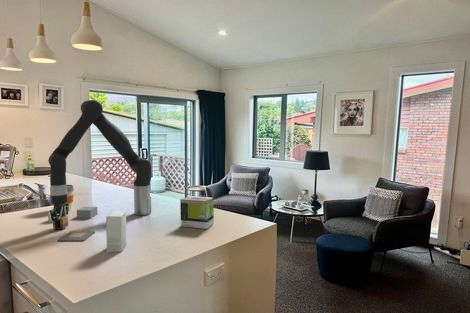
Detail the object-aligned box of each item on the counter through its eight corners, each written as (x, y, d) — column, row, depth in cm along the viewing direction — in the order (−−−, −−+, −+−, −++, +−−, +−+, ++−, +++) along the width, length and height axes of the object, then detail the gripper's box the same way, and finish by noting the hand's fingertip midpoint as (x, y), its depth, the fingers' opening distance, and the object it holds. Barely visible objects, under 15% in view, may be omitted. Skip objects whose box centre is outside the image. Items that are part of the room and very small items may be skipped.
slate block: (97, 215, 186) (97, 206, 186) (90, 219, 178) (90, 210, 178) (84, 214, 187) (84, 206, 186) (77, 218, 179) (76, 210, 178)
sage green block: (62, 219, 177) (62, 210, 176) (57, 222, 172) (57, 213, 171) (53, 219, 176) (52, 210, 176) (48, 222, 172) (47, 213, 171)
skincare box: (112, 245, 138) (111, 210, 137) (127, 244, 139) (126, 210, 137) (106, 252, 130) (104, 216, 129) (122, 252, 131) (121, 215, 129)
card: (95, 232, 155) (95, 230, 155) (84, 241, 143) (84, 239, 143) (70, 232, 155) (70, 230, 155) (57, 241, 143) (57, 239, 143)
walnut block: (68, 225, 163) (67, 216, 162) (63, 228, 158) (62, 219, 158) (58, 225, 163) (57, 216, 162) (53, 228, 158) (52, 219, 157)
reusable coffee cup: (46, 211, 192) (45, 187, 191) (64, 206, 204) (63, 184, 203) (61, 213, 188) (60, 189, 186) (79, 208, 199) (78, 185, 198)
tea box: (214, 224, 169) (214, 197, 168) (206, 229, 160) (206, 201, 158) (189, 221, 174) (188, 194, 173) (180, 226, 165) (179, 198, 163)
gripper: (58, 196, 152) (60, 230, 153) (73, 190, 166) (75, 222, 168) (43, 196, 152) (45, 231, 153) (59, 190, 166) (60, 222, 167)
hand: (60, 226), depth 160 cm, fingers closed on walnut block, 5 cm apart
